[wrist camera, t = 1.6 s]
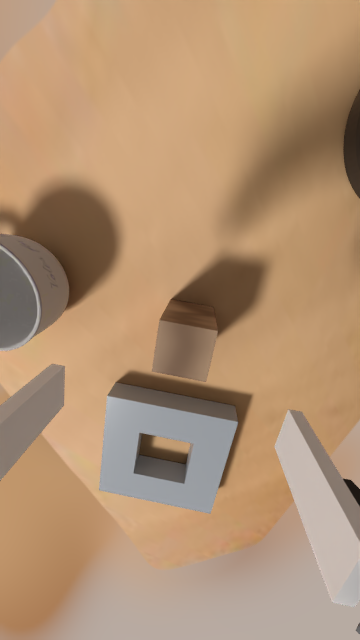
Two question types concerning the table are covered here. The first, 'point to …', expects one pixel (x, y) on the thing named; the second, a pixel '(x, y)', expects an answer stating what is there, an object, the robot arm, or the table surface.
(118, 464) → the housing
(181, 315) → the peg
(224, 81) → the table surface
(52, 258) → the teacup
